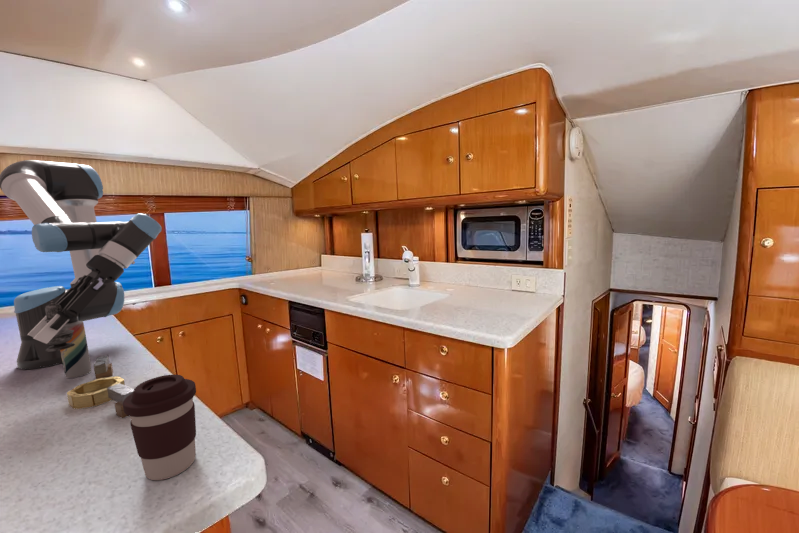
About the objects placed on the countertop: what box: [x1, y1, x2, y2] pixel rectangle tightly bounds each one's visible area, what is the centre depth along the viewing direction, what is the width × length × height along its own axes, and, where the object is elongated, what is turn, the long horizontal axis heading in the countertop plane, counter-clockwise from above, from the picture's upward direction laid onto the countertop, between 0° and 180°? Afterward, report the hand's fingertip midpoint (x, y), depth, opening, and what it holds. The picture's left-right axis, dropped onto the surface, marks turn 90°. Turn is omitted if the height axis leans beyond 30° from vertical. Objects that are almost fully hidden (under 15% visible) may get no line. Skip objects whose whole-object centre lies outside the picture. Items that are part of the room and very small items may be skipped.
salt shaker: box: [45, 300, 75, 352], centre depth 85 cm, size 6×6×12 cm
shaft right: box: [107, 383, 135, 419], centre depth 78 cm, size 8×4×5 cm, turn 60°
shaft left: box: [93, 354, 114, 380], centre depth 96 cm, size 8×4×5 cm, turn 36°
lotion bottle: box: [60, 316, 92, 379], centre depth 99 cm, size 6×6×20 cm
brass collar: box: [66, 375, 126, 410], centre depth 85 cm, size 10×10×3 cm
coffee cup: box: [123, 374, 197, 481], centre depth 58 cm, size 10×10×15 cm
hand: (37, 339), depth 82 cm, fingers closed on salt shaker, 5 cm apart
